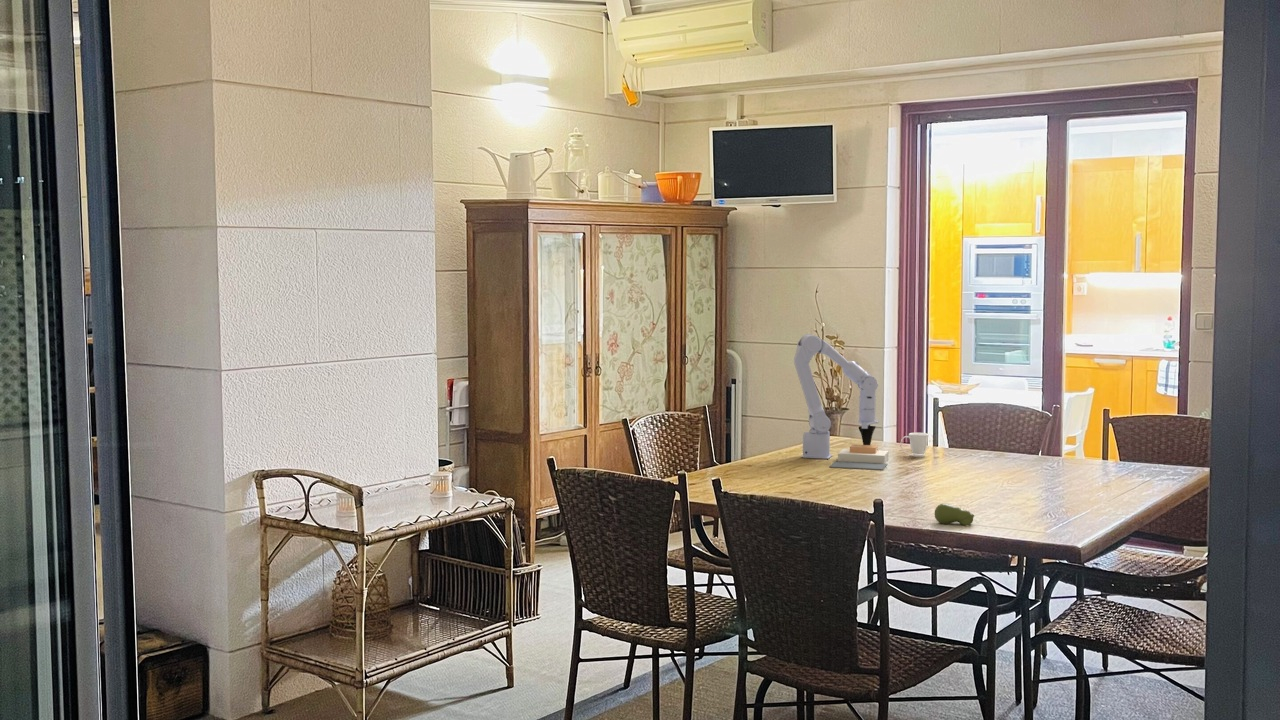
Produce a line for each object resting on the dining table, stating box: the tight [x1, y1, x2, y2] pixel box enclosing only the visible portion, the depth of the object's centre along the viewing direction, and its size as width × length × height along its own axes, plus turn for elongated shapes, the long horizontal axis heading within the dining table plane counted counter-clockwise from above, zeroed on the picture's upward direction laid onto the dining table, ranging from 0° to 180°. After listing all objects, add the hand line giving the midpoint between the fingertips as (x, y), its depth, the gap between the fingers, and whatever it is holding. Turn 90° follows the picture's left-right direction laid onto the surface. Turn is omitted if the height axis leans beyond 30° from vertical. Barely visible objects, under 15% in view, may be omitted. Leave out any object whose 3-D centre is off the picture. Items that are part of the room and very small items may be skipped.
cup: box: [899, 432, 930, 458], centre depth 421 cm, size 7×10×8 cm
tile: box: [849, 444, 879, 454], centre depth 411 cm, size 9×6×2 cm, turn 72°
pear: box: [934, 503, 975, 526], centre depth 305 cm, size 6×5×10 cm
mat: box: [829, 460, 888, 471], centre depth 398 cm, size 18×12×1 cm, turn 72°
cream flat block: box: [837, 448, 889, 464], centre depth 410 cm, size 16×12×3 cm
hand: (866, 446), depth 419 cm, fingers closed
